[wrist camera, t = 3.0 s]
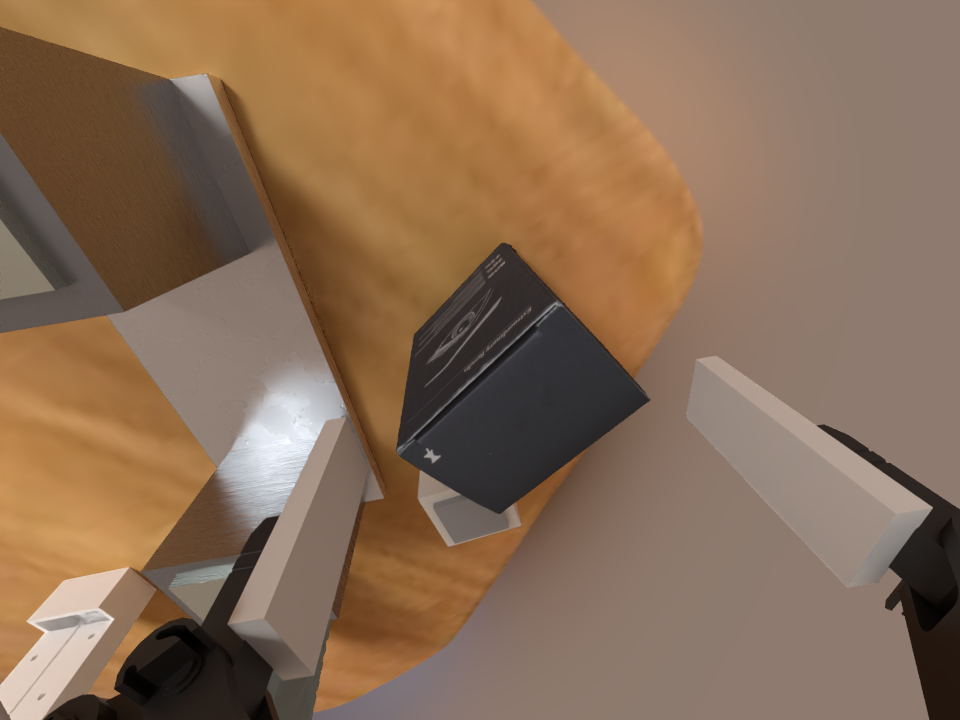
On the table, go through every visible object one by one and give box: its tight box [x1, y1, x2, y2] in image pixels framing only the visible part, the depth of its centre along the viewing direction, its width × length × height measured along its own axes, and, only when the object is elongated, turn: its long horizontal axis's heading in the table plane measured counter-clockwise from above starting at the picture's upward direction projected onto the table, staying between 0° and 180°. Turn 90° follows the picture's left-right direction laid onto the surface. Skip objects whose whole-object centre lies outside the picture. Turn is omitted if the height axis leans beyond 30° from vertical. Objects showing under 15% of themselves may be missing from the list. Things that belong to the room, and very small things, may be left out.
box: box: [396, 243, 650, 514], centre depth 17 cm, size 8×6×11 cm
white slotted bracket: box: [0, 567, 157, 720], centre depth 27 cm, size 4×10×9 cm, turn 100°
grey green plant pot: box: [267, 620, 331, 720], centre depth 28 cm, size 10×10×12 cm
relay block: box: [418, 470, 522, 547], centre depth 24 cm, size 5×5×6 cm
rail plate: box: [0, 27, 386, 626], centre depth 17 cm, size 26×10×9 cm, turn 8°
